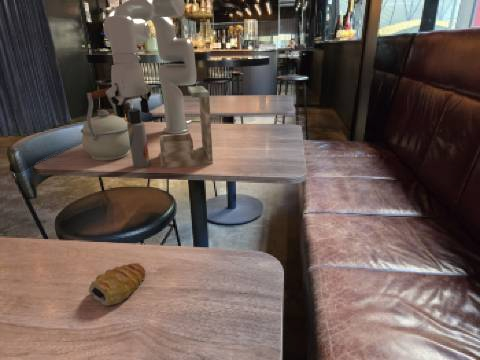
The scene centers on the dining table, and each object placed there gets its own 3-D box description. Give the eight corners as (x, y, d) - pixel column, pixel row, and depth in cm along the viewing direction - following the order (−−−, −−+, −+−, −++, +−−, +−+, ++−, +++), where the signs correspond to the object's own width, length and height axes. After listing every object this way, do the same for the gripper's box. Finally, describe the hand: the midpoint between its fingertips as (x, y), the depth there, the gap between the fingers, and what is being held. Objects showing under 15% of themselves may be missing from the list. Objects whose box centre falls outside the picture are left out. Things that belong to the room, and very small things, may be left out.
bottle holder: (160, 168, 109) (151, 94, 99) (160, 153, 125) (153, 88, 116) (212, 163, 113) (209, 92, 103) (206, 149, 129) (202, 86, 119)
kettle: (122, 164, 114) (110, 93, 104) (73, 164, 115) (56, 94, 105) (145, 144, 137) (137, 85, 127) (104, 144, 138) (93, 85, 128)
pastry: (130, 266, 61) (127, 250, 59) (155, 279, 57) (153, 262, 56) (86, 296, 53) (81, 279, 52) (112, 313, 50) (107, 294, 49)
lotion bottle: (152, 162, 115) (144, 107, 107) (146, 168, 110) (138, 110, 102) (137, 162, 115) (128, 107, 108) (130, 168, 110) (121, 110, 102)
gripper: (140, 59, 107) (146, 110, 114) (93, 60, 94) (104, 118, 100) (155, 59, 103) (161, 111, 110) (109, 60, 90) (118, 120, 96)
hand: (133, 114), depth 105 cm, fingers open, 9 cm apart
